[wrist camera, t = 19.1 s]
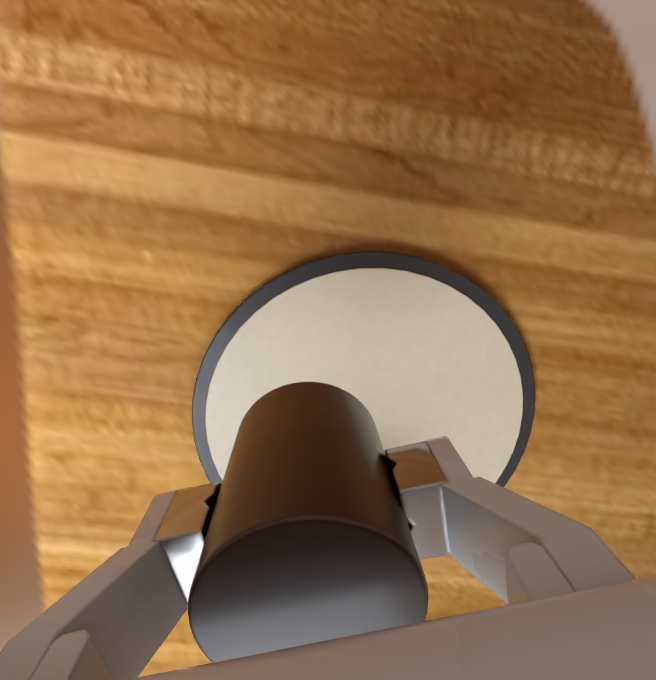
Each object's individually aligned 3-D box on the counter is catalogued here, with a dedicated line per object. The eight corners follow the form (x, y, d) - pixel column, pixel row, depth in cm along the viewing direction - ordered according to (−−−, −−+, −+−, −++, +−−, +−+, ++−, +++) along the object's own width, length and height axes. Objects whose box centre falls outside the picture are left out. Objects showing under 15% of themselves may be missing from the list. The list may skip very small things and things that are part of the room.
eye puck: (365, 366, 11) (413, 493, 6) (387, 487, 12) (441, 672, 7) (219, 396, 11) (151, 546, 6) (256, 513, 12) (225, 714, 7)
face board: (524, 215, 18) (531, 215, 18) (535, 521, 24) (540, 528, 23) (145, 293, 19) (140, 296, 18) (244, 577, 24) (243, 586, 24)
